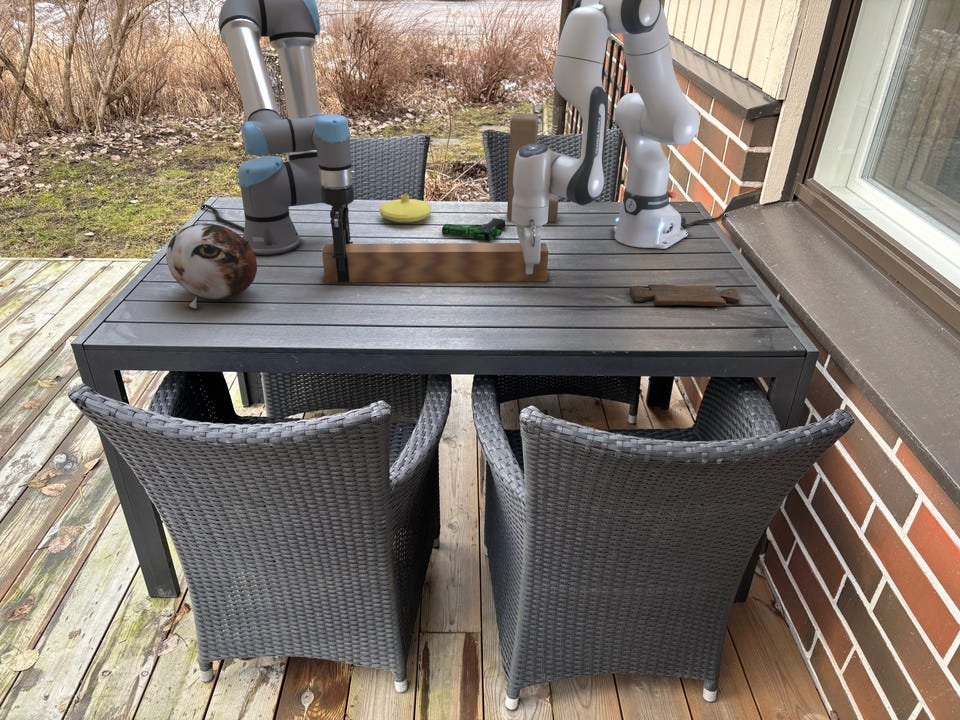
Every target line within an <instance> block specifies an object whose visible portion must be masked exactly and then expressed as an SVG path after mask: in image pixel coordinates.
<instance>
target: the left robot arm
mask: <svg viewBox="0 0 960 720" xmlns="http://www.w3.org/2000/svg"><path fill="white" fill-rule="evenodd" d="M320 21H321V19H320V14H319V10H318V5H317V2H316V0H224V2H223V4H222V6H221V9H220V12H219V15H218V31H219V35H220V39H221V41H222V43H223V44H224V45H225V46H226V47H227V49H228V53H229V56H230V60H231V65H232V68H233V71H234V76H235V78H236V84H237V87H238V90H239V94H240V98H241V102H242V106H243V109H244V113H245V117H246V121H245V122H242V124H241V126H240V131H241V138H242V143H243V146H244V151H245V152H246V154H247V155H249V156H255V158H251V159H248V160H247V161H245V162H243V163H242V164H241V165H240V166H239V168H238V170H237V174H238V186H239V188H240V194H241V195H240V196H241V201H242V207H243V212H244V213H243V215H244V219H245V220H244V226H241V225H239V224H237V223H235V222H232V221H229V220H227V219H224V218H222V217H221V216H220V214H219V211H218V210H217V209H216V208H214V207H213V206H212V205H209V204H202V205H201V206H200V210H204V209H205V208H207V209H208V210H211V211H212V212H214V214H215V217H216V219H217V220H219V221H220V222H222V223H223V224H226V225H229V226H231V227H233V228H236V229H238V230H241V231H243V235H242V237H243V238H244V239H245V240H246V241H249V242H248V244H249V245H250V247H251V248H252V250H253V252H254V254H255V256H256V255H257V256H275V255H281V254H282V255H283V254H285V253H289V252H291V251H293V250H296V249H297V248H298V247H299V246H300V244H301V241H300V235H299V233H298V231H297V229H296V227H295V225H294V223H293V220H292V218H291V216H290V207H299V206H305V205H306V206H308V205H314V204H315V205H316V204H317V205H318V204H325V205H327V206H330V207H331V210H329V217H330V221H329V222H330V226H331V236H332V244H333V247H334V256H332V258H335V259H336V266H337V276H338V282H340V283H350V282H349V270H348V258H347V255H346V244H354V242H353V241H351V239H352V237H351V229H350V228H351V227H350V218H349V211H350V210H349V205H350V204H352V203H353V202H354V201H355V189H354V185H353V183H354V181H353V176H355V174H356V172H355V170H352V169H353V168H352V166H353V165H352V152H351V131H350V127H349V121H348V119H347V117H346V116H344V115H341V114H333V113H332V114H330V113H329V114H324V113H322V111H321V105H320V98H319V91H318V85H317V79H316V72H315V66H314V59H313V53H312V48H313V46H314V45H315V44H316V43H317V39H316V36H318V35H319V34H320V33H321V23H320ZM262 38H268V40H269V45H270V47H272V48H273V49H274V50H275V51H276V52H277V57H278V63H279V69H280V76H281V82H282V87H283V93H284V99H285V106H286V112H287V117H288V118H284V119H283V118H282V119H281V115H280V111H279V108H278V104H277V101H276V97H275V93H274V89H273V86H272V83H271V78H270V76H269V73H268V68H267V65H266V61H265V58H264V54H263V51H262V47H261V43H260V41H261V39H262ZM281 154H288V159H289V161H284V160H283V158H282V157H281V156H279V155H281ZM257 156H260V157H257ZM205 206H206V207H205ZM202 207H203V208H202Z"/></svg>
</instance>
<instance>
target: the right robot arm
mask: <svg viewBox="0 0 960 720" xmlns="http://www.w3.org/2000/svg"><path fill="white" fill-rule="evenodd" d="M669 31H670V30H669V26H668V21H667V17H666V13H665V10H664V7H663V5H662V0H574V1H573V6H572V10H571V11H570V12H569V13H568V16H567V18H566V20H565V23H564V24H563V28H562V31H561V34H560V37H559V41H558V45H557V50H556V54H555V55H556V56H555V58H554V64H553V68H552V69H553V71H552V81H553V85H554V87H555V89H556V90H557V92H558V93H559V95H560V96H561V97H562V98H563V99H564V100H565V101H566V102H568V103H569V104H571V105H572V106H573V108H575V109H576V110H577V113H579V115H580V118H581V120H582V134H581V135H582V136H581V147H580V148H581V149H580V157H579V158H577V157H573V156H570V155H567V154H564V153H559V152H556V151H553V150H552V149H550V147H549V146H548V144H547V145H546V144H545V143H539V142H537V143H534V144H527V145H525V146H523V147H521V148H520V149H519V150H518V152H517V155H516V159H515V164H514V173H513V187H514V196H513V199H512V220H511V222H512V223H513V224H516V225H515V227H516V233H517V237H518V243H520V245H521V249H522V253H523V257H524V261H525V263H526V265H525V272H526V274H532V273H533V267H534V264H539V262H540V252H541V243H542V236H541V230H542V229H543V226H545V225H546V224H547V223H549V222H548V210H549V198H548V195H550V194H554V195H556V196H559V198H563V199H566V200H568V201H569V202H572V203H575V204H577V205H579V206H586V205H589V204H591V203H592V202H594V201H596V200H597V199H598V198H599V197H600V196H601V194H602V193H603V191H604V189H605V182H606V176H605V174H606V173H605V154H606V141H607V130H608V118H609V96H608V93H607V92H606V90H605V89H604V86H603V78H602V77H603V67H604V62H605V56H606V51H607V44H608V43H607V42H608V39H609V38H610V36H611V35H615V34H622V44H623V53H624V59H625V60H624V61H625V66H626V72H627V79H628V82H629V84H630V85H631V86H632V88H633V89H634V90H635V91H636V92H631V93H626V94H624V95H623V96H622V97H621V98H620V99H619V100H618V102H617V104H616V106H615V110H614V121H615V123H616V125H617V127H618V128H619V130H620V131H621V133H622V136H623V139H624V142H625V146H626V151H627V161H628V162H627V163H628V164H627V176H626V186H625V188H624V189H623V194H622V204H621V205H620V209H619V213H618V217H616V218H615V222H616V225H614V227H613V232H614V235H613V236H614V237H613V238H614V240H616V241H617V242H619V243H620V244H623V245H626V246H630V247H634V248H644V249H646V248H647V249H648V248H650V249H651V248H652V249H661V250H666V249H668V248H670V247H671V246H673V245H674V244H676V243H678V242H680V241H681V240H683V239H684V238H687V237H688V236H689V232H688V231H687V230H686V229H685V228H689V227H692V226H694V225H696V224H699V223H707V222H713V221H718V220H720V219H721V218H723V217H728V216H726V214H725V215H724V213H726V212H722V213H720V215H718V216H715V217H711V218H712V219H709V218H702V219H703V220H700V219H696V220H694V221H692V222H691V223H689V224H686V222H687V221H686V217H685V216H682V215H681V214H680V213H679V212H678V211H677V210H676V209H675V207H673V206H672V205H671V204H670V199H671V200H673V199H675V198H676V196H677V192H676V191H675V190H671V189H669V190H668V185H669V179H670V177H669V176H670V172H671V171H670V170H671V163H670V160H669V159H668V157H667V156H666V154H665V153H664V150H663V148H662V144H663V145H665V146H685V145H688V144H689V143H691V142H692V140H694V139H695V137H696V135H697V134H698V132H699V129H700V124H701V119H700V113H699V112H698V110H697V109H696V108H695V106H693V105H692V104H691V103H690V102H689V100H688V99H687V97H686V96H685V94H684V92H683V89H682V88H681V86H680V84H679V81H678V79H677V77H676V73H675V69H674V65H673V64H674V63H673V57H672V48H671V47H672V46H671V38H670V33H669ZM667 190H668V191H667ZM669 198H670V199H669ZM684 224H685V225H684ZM680 228H681V229H680ZM684 229H685V230H684ZM686 231H687V232H688V233H687V232H686ZM686 233H687V234H686ZM533 246H534V247H533Z"/></svg>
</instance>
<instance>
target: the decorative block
mask: <svg viewBox="0 0 960 720" xmlns="http://www.w3.org/2000/svg"><path fill="white" fill-rule="evenodd" d="M509 121H510V123H509V151H508V152H509V153H508V154H509V155H508V177H507V178H508V179H507V206H506V207H507V209H506V219H507V220H508V221H512V199H513V196H514V187H513V173H514V164H515V159H516V155H517V152H518V150H519V149H520V148H521V147H523V146H525V145H527V144H534V143H538V135H539V134H538V130H539V114H537V113H517V112H516V113H513V114H512V116H511V118H510V120H509ZM548 198H549V210H548V222H547V223H556V222H557V220H558V215H559V213H558V212H559V200H560V199H559V198H560V197H559V196H556V195H554V194H550V195H548Z"/></svg>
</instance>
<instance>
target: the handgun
mask: <svg viewBox="0 0 960 720" xmlns="http://www.w3.org/2000/svg"><path fill="white" fill-rule="evenodd" d="M505 228H506V220H505V219H503V218H497V217H492V219H491V220H490V221H489V222H488V223H483V224H482V225H479V224H472V225H459V224H453V223H445V224H443V226H442V227H441V235H446V236H454V237H462V238H469V239H470V238H471V239H474V240H479V241H484V242H491V241H492V240H494V239H495V238H497V237H500V236H502V230H504V229H505Z"/></svg>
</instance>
